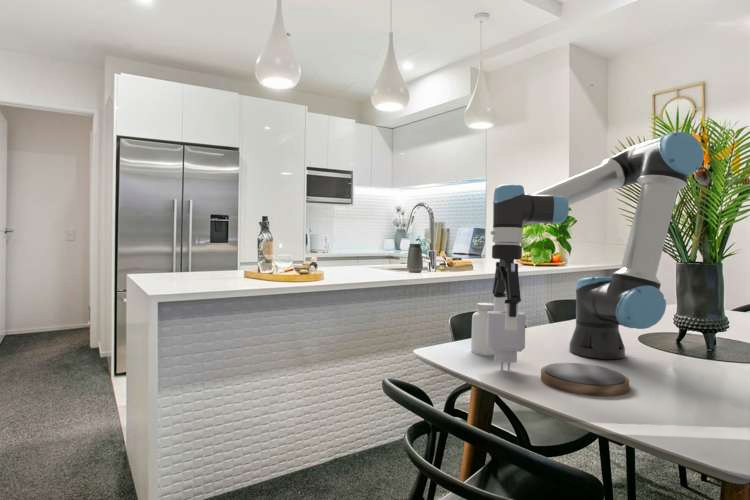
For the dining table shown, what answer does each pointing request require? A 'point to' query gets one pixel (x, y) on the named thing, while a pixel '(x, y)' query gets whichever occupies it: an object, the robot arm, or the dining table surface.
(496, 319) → the charger
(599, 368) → the round mirror
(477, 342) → the pill bottle
